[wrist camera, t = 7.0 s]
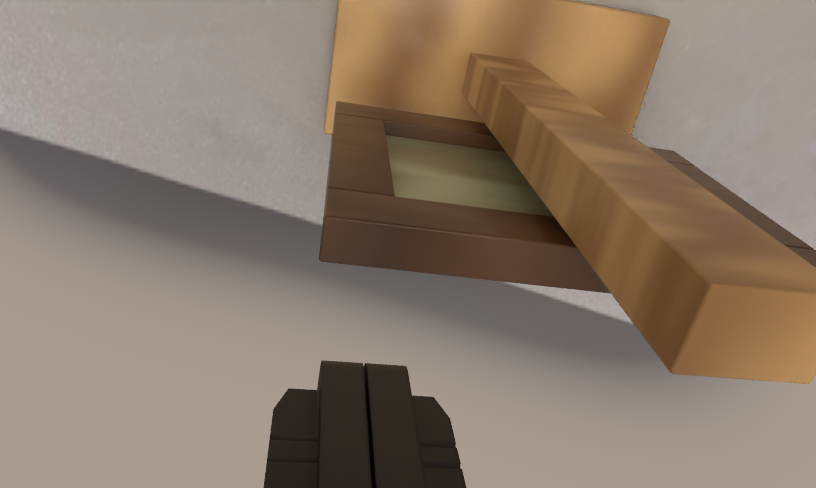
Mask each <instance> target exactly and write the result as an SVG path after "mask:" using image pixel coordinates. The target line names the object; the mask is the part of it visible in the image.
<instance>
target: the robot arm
mask: <svg viewBox="0 0 816 488" xmlns="http://www.w3.org/2000/svg"><path fill="white" fill-rule="evenodd" d="M455 444H456V443H455V438H454V434H453V430H452V425H451V421H450V418H449V417H448V415H447V414H446V413H445V412H444V410H443V409H442V408H441V406H440V405H439V404H438V402H437V401H436V400H435V398H434V397H424V396H412V394H411V388H410V382H409V376H408V370H407V367H406V366H397V365H383V364H369V363H366V364H365V365H364V367H363V364H362V363H351V362H337V361H321V366H320V374H319V380H318V388H317V390H304V389H288V390H287V392H286V393H285V394H284V396H283V397H282V398H281V400H280V401H279V402H278V404H277V405H276V407H275V408H274V410H273V417H272V425H271V434H270V441H269V450H268V458H267V465H266V473H265V481H264V488H466V485H465V480H464V476H463V472H462V469H460V459H459V455H458V451H457V448H456V447H455Z"/></svg>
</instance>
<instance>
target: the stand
mask: <svg viewBox="0 0 816 488" xmlns="http://www.w3.org/2000/svg"><path fill="white" fill-rule="evenodd" d="M669 23H670V20H669V19H666V18H662V17H659V16H655V15H649V14H644V13H638V12H633V11H627V10H622V9H616V8H611V7H605V6H600V5H594V4H589V3H583V2H578V1H572V0H338V7H337V16H336V25H335V34H334V43H333V52H332V61H331V70H330V79H329V88H328V97H327V106H326V115H325V124H324V133H325V134H332V132H333V124H334V115H335V107H336V101H341V102H347V103H354V104H361V105H367V106H374V107H381V108H388V109H394V110H401V111H408V112H415V113H421V114H428V115H435V116H441V117H448V118H455V119H462V120H468V121H475V122H482V123H485V125H486V126H487V127H488V129H489V130H490V131H491V133H492V134H493V135H494V137H495V138H496V139H497V141H498V142H499V143H500V145H501V146H502V147H503V149H504V150H505V151H506V153H507V154H508V155H509V157H510V158H511V159H512V161H513V162H514V164H515V165H516V166H517V168H518V169H519V170H520V172H521V173H522V174H523V176H524V177H525V178H526V180H527V181H528V182H529V184H530V185H531V186H532V188H533V189H534V190H535V192H536V193H537V194H538V196H539V197H540V198H541V200H542V201H543V202H544V204H545V205H546V206H547V208H548V209H549V211H550V212H551V213H552V215H553V216H554V217H555V219H556V220H557V221H558V223H559V224H560V225H561V227H562V228H563V229H564V231H565V232H566V233H567V235H568V236H569V237H570V239H571V240H572V241H573V243H574V244H575V245H576V247H577V248H578V249H579V251H580V252H581V254H582V255H583V256H584V258H585V259H586V260H587V262H588V263H589V264H590V266H591V267H592V268H593V270H594V271H595V272H596V274H597V275H598V276H599V278H600V279H601V280H602V282H603V283H604V284H605V286H606V287H607V288H608V290H609V291H610V292H611V294H612V295H613V296H614V298H615V299H616V301H617V302H618V303H619V305H620V306H621V307H622V309H623V310H624V311H625V313H626V314H627V315H628V317H629V318H630V319H631V321H632V322H633V323H634V325H635V326H636V327H637V329H638V330H639V331H640V333H641V334H642V335H643V336H644V338H645V339H646V341H647V342H648V343H649V345H650V346H651V347H652V349H653V350H654V352H655V353H656V354H657V356H658V357H659V358H660V360H661V361H662V362H663V364H664V365H665V366H666V368H667V369H668V370H669V372H670V373H672V374H680V375H693V376H707V377H721V378H735V379H747V380H762V381H775V382H789V383H801V384H809V383H810V382H811V381H812V379H813V378H814V376H815V374H816V267H814V266H813V265H811V264H810V263H809V262H807V261H806V260H804V259H803V258H802V257H800V256H799V255H797V254H796V253H795V252H793V251H792V250H790V249H789V248H788V247H786V246H785V245H783V244H782V243H781V242H779V241H778V240H776V239H775V238H774V237H772V236H771V235H769V234H768V233H767V232H765V231H764V230H762V229H761V228H760V227H758V226H757V225H755V224H754V223H753V222H751V221H750V220H748V219H747V218H746V217H744V216H743V215H741V214H740V213H739V212H737V211H736V210H734V209H733V208H732V207H730V206H729V205H727V204H726V203H725V202H723V201H722V200H720V199H719V198H718V197H716V196H715V195H713V194H712V193H711V192H709V191H708V190H706V189H705V188H704V187H702V186H701V185H700V184H698V183H697V182H695V181H694V180H693V179H691V178H690V177H688V176H687V175H686V174H684V173H683V172H681V171H680V170H679V169H677V168H676V167H674V166H673V165H672V164H670V163H669V162H667V161H666V160H665V159H663V158H662V157H660V156H659V155H658V154H656V153H655V152H653V151H652V150H651V149H649V148H648V147H646V146H645V145H644V144H642V143H641V142H639V141H638V140H637V139H635V138H634V137H632V136H631V133H632V130H633V127H634V125H635V122H636V119H637V116H638V113H639V110H640V107H641V104H642V101H643V98H644V95H645V93H646V90H647V87H648V84H649V81H650V78H651V75H652V72H653V69H654V66H655V63H656V61H657V58H658V55H659V52H660V49H661V46H662V43H663V40H664V37H665V34H666V31H667V29H668V26H669Z"/></svg>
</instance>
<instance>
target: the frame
mask: <svg viewBox="0 0 816 488" xmlns="http://www.w3.org/2000/svg"><path fill="white" fill-rule="evenodd" d="M648 148H649V149H651V150H652V151H653V152H655V153H656V154H658V155H659V156H660V157H662V158H663V159H665V160H666V161H667V162H669V163H670V164H672V165H673V166H674V167H676V168H677V169H679V170H680V171H681V172H683V173H684V174H686V175H687V176H688V177H690V178H691V179H693V180H694V181H695V182H697V183H698V184H700V185H701V186H702V187H704V188H705V189H706V190H708V191H709V192H711V193H712V194H713V195H715V196H716V197H718V198H719V199H720V200H722V201H723V202H725V203H726V204H727V205H729V206H730V207H732V208H733V209H734V210H736V211H737V212H739V213H740V214H741V215H743V216H744V217H746V218H747V219H748V220H750V221H751V222H753V223H754V224H755V225H757V226H758V227H760V228H761V229H762V230H764V231H765V232H767V233H768V234H769V235H771V236H772V237H774V238H775V239H776V240H778V241H779V242H781V243H782V244H783V245H785V246H786V247H788V248H789V249H790V250H792V251H793V252H795V253H796V254H797V255H799V256H800V257H802V258H803V259H804V260H806V261H807V262H809V263H810V264H811V265H813V266H814V267H816V250H814V249H813V248H812V247H810V246H809V245H807V244H806V243H804V242H803V241H802V240H800V239H799V238H797V237H796V236H794V235H793V234H791V233H790V232H789V231H787V230H786V229H784V228H783V227H781V226H780V225H779V224H777V223H776V222H774V221H773V220H771V219H770V218H769V217H767V216H766V215H764V214H763V213H761V212H760V211H758V210H757V209H756V208H754V207H753V206H751V205H750V204H748V203H747V202H746V201H744V200H743V199H741V198H740V197H738V196H737V195H736V194H734V193H733V192H731V191H730V190H728V189H727V188H726V187H724V186H723V185H721V184H720V183H718V182H717V181H715V180H714V179H713V178H711V177H710V176H708V175H707V174H705V173H704V172H703V171H701V170H700V169H698V168H697V167H695V166H694V165H693V164H692V163H690V162H689V161H687V160H686V159H684V158H683V157H681V156H680V155H679V154H677V153H676V152H674V151H670V150H663V149H656V148H650V147H648ZM319 260H320V261H322V262H330V263H339V264H349V265H358V266H367V267H377V268H385V269H395V270H403V271H412V272H421V273H431V274H440V275H449V276H458V277H467V278H477V279H485V280H494V281H503V282H512V283H521V284H530V285H540V286H549V287H558V288H567V289H576V290H585V291H594V292H603V293H611V292H610V291H609V290H608V288H607V287H606V286H605V284H604V283H603V282H602V280H601V279H600V278H599V276H598V275H597V274H596V272H595V271H594V270H593V268H592V267H591V266H590V264H589V263H588V262H587V260H586V259H585V258H584V256H583V255H582V254H581V252H580V251H579V249H578V248H577V247H576V245H575V244H574V243H573V241H572V240H571V239H570V237H569V236H568V235H567V233H566V232H565V231H564V229H563V228H562V227H561V225H560V224H559V223H558V221H557V220H556V219H555V217H554V216H553V215H552V213H551V212H550V211H549V209H548V208H547V206H546V205H545V204H544V202H543V201H542V200H541V198H540V197H539V196H538V194H537V193H536V192H535V190H534V189H533V188H532V186H531V185H530V184H529V182H528V181H527V180H526V178H525V177H524V176H523V174H522V173H521V172H520V170H519V169H518V168H517V166H516V165H515V164H514V162H513V161H512V159H511V158H510V157H509V155H508V154H507V153H506V151H505V150H504V149H503V147H502V146H501V145H500V143H499V142H498V141H497V139H496V138H495V137H494V135H493V134H492V133H491V131H490V130H489V129H488V127H487V126H486V125H485V123H482V122H475V121H468V120H462V119H455V118H448V117H441V116H435V115H428V114H421V113H415V112H408V111H401V110H394V109H388V108H381V107H374V106H367V105H361V104H354V103H347V102H341V101H336V107H335V115H334V124H333V132H332V142H331V151H330V161H329V170H328V179H327V189H326V198H325V208H324V217H323V226H322V236H321V245H320V256H319Z"/></svg>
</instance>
